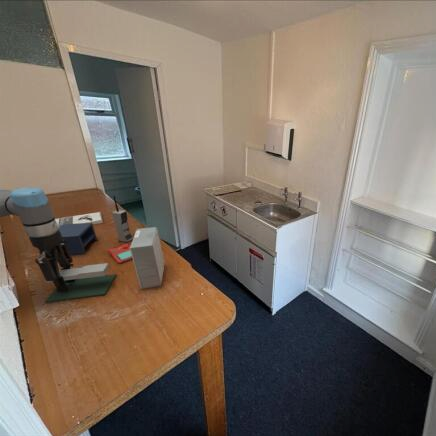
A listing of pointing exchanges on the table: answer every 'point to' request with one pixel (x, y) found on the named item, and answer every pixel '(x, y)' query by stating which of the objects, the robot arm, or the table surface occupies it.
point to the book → (81, 219)
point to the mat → (84, 288)
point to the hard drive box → (147, 257)
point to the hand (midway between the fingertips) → (67, 286)
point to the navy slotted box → (77, 236)
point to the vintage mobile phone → (121, 224)
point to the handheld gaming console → (121, 253)
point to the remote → (84, 272)
